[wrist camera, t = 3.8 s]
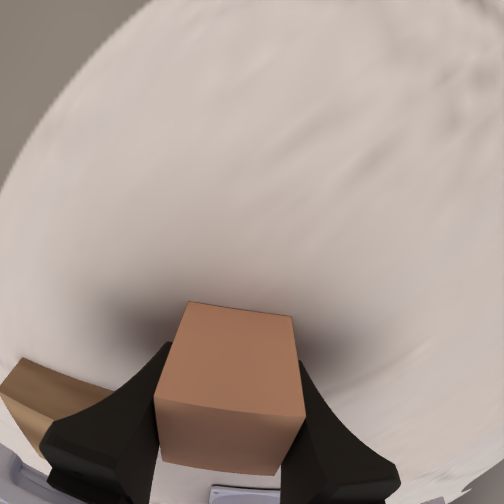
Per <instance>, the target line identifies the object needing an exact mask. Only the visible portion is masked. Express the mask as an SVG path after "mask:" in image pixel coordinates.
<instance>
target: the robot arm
mask: <svg viewBox="0 0 504 504" xmlns="http://www.w3.org/2000/svg"><path fill="white" fill-rule="evenodd" d="M172 344H173V342H168V341H167V342H166V343H165V344H164V345H163V346H162V347H161V349H160V350H159V351H158V352H157V353H156V354H155V356H154V357H153V358H152V359H151V360H150V361H149V362H148V363H147V364H146V365H145V366H144V367H143V368H142V369H141V370H140V371H139V372H138V373H137V374H136V375H135V376H133V377H132V378H131V379H130V380H129V381H128V382H127V383H125V384H124V385H123V386H121V387H120V388H119V389H118V390H116V391H115V392H113V393H112V394H110V395H109V396H107V397H106V398H104V399H103V400H101V401H99V402H98V403H96V404H94V405H92V406H90V407H88V408H86V409H84V410H82V411H80V412H78V413H75V414H73V415H70V416H68V417H65V418H62V419H59V420H56V421H53V422H52V424H51V425H50V426H49V428H48V429H47V431H46V433H45V434H44V436H43V438H42V440H41V442H40V444H39V450H40V452H41V453H42V455H43V456H44V457H45V459H46V460H47V461H48V463H49V464H50V465H51V466H52V470H51V472H50V474H49V476H47V475H45V474H43V473H42V472H40V471H38V470H36V469H34V468H32V467H30V466H29V465H27V464H25V463H23V462H22V460H21V459H20V457H19V456H18V455H17V454H16V453H14V452H13V451H12V450H10V449H9V448H7V447H6V446H4V445H2V444H1V443H0V502H2V503H3V504H149V499H150V492H151V486H152V480H153V475H154V470H155V464H156V459H157V455H158V450H159V446H160V442H159V436H158V429H157V421H156V413H155V405H154V394H155V391H156V388H157V385H158V382H159V380H160V377H161V374H162V371H163V368H164V366H165V363H166V360H167V357H168V355H169V352H170V349H171V347H172ZM298 364H299V371H300V378H301V385H302V392H303V399H304V406H305V413H306V417H305V419H304V422H303V424H302V426H301V427H300V429H299V431H298V433H297V435H296V437H295V439H294V441H293V443H292V445H291V447H290V449H289V450H288V452H287V454H286V456H285V458H284V460H283V461H282V463H281V490H280V491H276V490H253V489H240V488H229V487H221V486H212V487H211V491H210V498H209V504H386V503H385V499H386V498H388V497H389V496H390V495H391V494H393V493H394V492H395V491H396V490H397V489H398V488H399V487H400V485H401V481H400V477H399V474H398V471H397V468H396V466H395V464H393V463H392V462H390V461H388V460H387V459H385V458H383V457H382V456H380V455H379V454H377V453H376V452H374V451H373V450H372V449H370V448H369V447H368V446H366V445H365V444H364V443H363V442H361V441H360V440H359V439H358V438H357V437H356V436H355V435H354V434H352V433H351V432H350V431H349V430H348V429H347V428H346V427H345V426H344V425H343V423H342V422H341V421H340V420H339V419H338V418H337V417H336V415H335V414H334V413H333V412H332V410H331V409H330V408H329V406H328V405H327V403H326V402H325V401H324V399H323V398H322V396H321V395H320V393H319V392H318V390H317V388H316V387H315V385H314V384H313V382H312V380H311V378H310V377H309V375H308V373H307V371H306V369H305V367H304V366H303V364H302V362H301V361H300V360H298ZM421 504H445V501H444V498H443V497H439V498H436V499H433V500H430V501H426V502H424V503H421Z"/></svg>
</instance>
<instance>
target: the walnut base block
mask: <svg viewBox="0 0 504 504" xmlns="http://www.w3.org/2000/svg"><path fill="white" fill-rule="evenodd" d="M113 392H114V391H111V390H107V389H104V388H101V387H98V386H95V385H92V384H89V383H86V382H83V381H80V380H77V379H74V378H72V377H69V376H66V375H64V374H61V373H58V372H56V371H53V370H51V369H48V368H46V367H44V366H41V365H39V364H37V363H34V362H32V361H30V360H28V359H25V358H22V359H21V360H20V361H19V362H18V364H17V365H16V366H15V367H14V369H13V370H12V371H11V372H10V374H9V375H8V376H7V377H6V379H5V380H4V381H3V383H2V384H1V385H0V396H1V398H2V400H3V402H4V403H5V405H6V407H7V409H8V410H9V412H10V414H11V415H12V417H13V418H14V420H15V422H16V423H17V425H18V426H19V428H20V429H21V431H22V432H23V434H24V435H25V437H26V438H27V440H28V441H29V442H30V444H31V445H32V447H33V448H34V449H35V451H36V452H37V453H38V455H39V456H40V457H41V458H43V459H45V457H44V456H43V455H42V453H41V452H40V450H39V444H40V442H41V440H42V438H43V436H44V434H45V433H46V431H47V429H48V428H49V426H50V425H51V424H52V422H53V421H56V420H59V419H62V418H65V417H68V416H70V415H73V414H75V413H78V412H80V411H82V410H84V409H86V408H88V407H90V406H92V405H94V404H96V403H98V402H99V401H101V400H103V399H104V398H106V397H107V396H109V395H110V394H112V393H113ZM45 460H46V459H45Z"/></svg>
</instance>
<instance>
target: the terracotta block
mask: <svg viewBox="0 0 504 504" xmlns="http://www.w3.org/2000/svg"><path fill="white" fill-rule="evenodd" d="M154 405H155V413H156V421H157V429H158V436H159V442H160V449H161V455H162V461H164V462H169V463H173V464H178V465H183V466H189V467H194V468H200V469H207V470H214V471H221V472H230V473H240V474H252V475H268V476H274V475H275V474H276V472H277V470H278V468H279V467H280V465H281V463H282V461H283V460H284V458H285V456H286V454H287V452H288V450H289V449H290V447H291V445H292V443H293V441H294V439H295V437H296V435H297V433H298V431H299V429H300V427H301V426H302V424H303V422H304V419H305V417H306V413H305V406H304V399H303V392H302V385H301V378H300V371H299V364H298V358H297V351H296V345H295V338H294V332H293V326H292V320H291V316H282V315H275V314H267V313H260V312H253V311H246V310H239V309H232V308H226V307H219V306H213V305H207V304H201V303H195V302H188V304H187V307H186V310H185V312H184V315H183V317H182V320H181V323H180V325H179V328H178V331H177V333H176V336H175V339H174V341H173V344H172V347H171V349H170V352H169V355H168V357H167V360H166V363H165V366H164V368H163V371H162V374H161V377H160V380H159V382H158V385H157V388H156V391H155V394H154Z"/></svg>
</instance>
